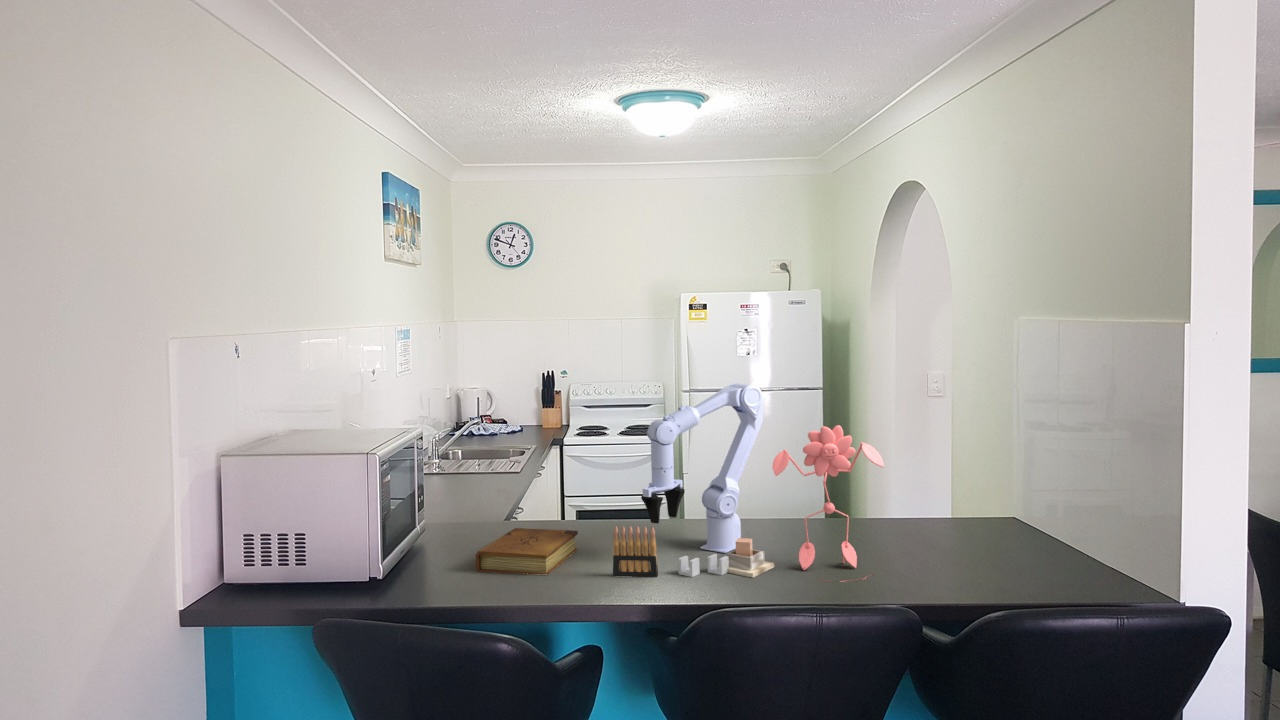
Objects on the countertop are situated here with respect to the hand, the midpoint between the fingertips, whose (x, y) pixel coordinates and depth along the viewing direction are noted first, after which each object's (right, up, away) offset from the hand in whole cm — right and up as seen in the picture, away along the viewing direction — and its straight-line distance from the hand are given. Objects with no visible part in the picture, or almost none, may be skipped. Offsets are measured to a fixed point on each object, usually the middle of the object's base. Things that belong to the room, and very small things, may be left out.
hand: (663, 519), depth 219 cm
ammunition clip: (-7, -11, -15) cm, 20 cm away
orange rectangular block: (+19, -9, -12) cm, 24 cm away
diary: (-35, -11, 0) cm, 36 cm away
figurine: (+39, -10, -16) cm, 44 cm away
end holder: (+19, -10, -12) cm, 25 cm away
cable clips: (+9, -10, -15) cm, 20 cm away
